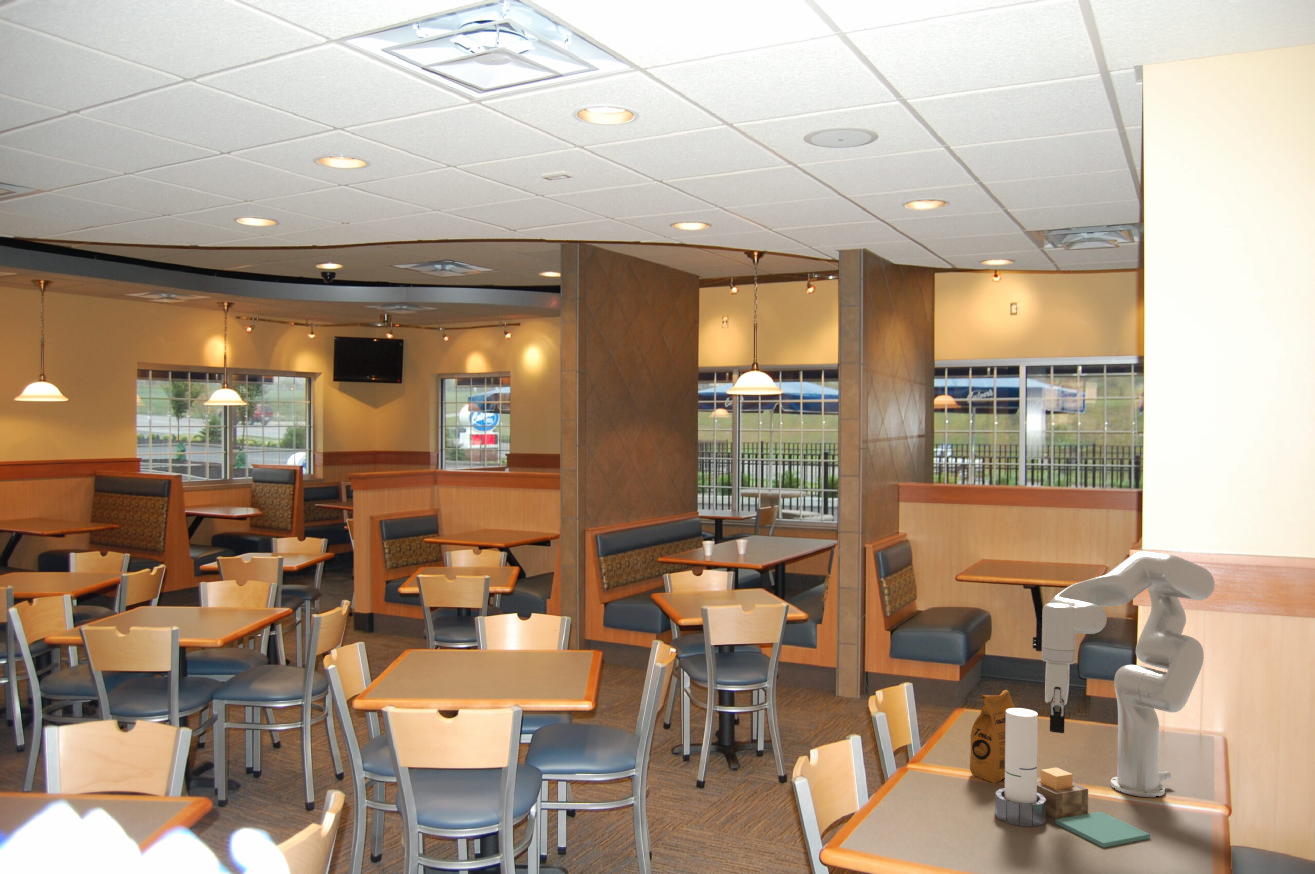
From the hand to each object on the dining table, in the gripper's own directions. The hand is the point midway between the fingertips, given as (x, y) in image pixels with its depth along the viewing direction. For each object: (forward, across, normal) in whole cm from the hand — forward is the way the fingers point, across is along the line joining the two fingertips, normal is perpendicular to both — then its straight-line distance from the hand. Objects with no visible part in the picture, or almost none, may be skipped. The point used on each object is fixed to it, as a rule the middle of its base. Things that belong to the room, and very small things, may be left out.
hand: (1057, 727), depth 237 cm
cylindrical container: (+20, +9, -8) cm, 23 cm away
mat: (+20, +10, +10) cm, 24 cm away
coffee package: (+20, -18, -16) cm, 31 cm away
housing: (+20, 0, 0) cm, 20 cm away
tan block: (+16, 0, 0) cm, 16 cm away
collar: (+20, +9, -8) cm, 23 cm away
